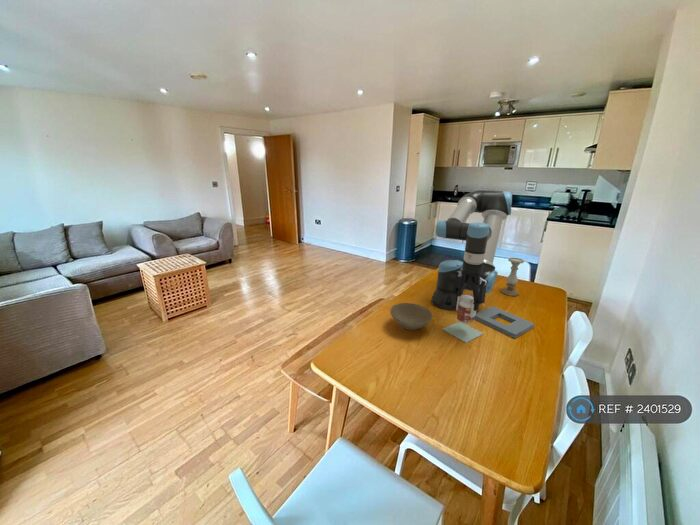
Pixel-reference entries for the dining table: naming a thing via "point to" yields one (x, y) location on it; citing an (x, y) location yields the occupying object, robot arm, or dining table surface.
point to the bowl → (411, 315)
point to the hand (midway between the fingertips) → (465, 312)
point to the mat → (463, 332)
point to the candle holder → (512, 278)
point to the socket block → (512, 329)
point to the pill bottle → (465, 309)
